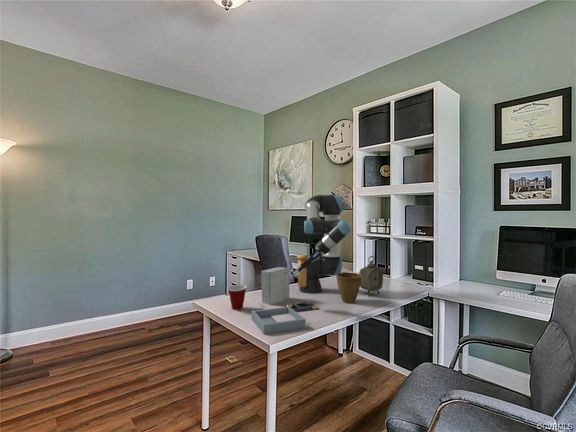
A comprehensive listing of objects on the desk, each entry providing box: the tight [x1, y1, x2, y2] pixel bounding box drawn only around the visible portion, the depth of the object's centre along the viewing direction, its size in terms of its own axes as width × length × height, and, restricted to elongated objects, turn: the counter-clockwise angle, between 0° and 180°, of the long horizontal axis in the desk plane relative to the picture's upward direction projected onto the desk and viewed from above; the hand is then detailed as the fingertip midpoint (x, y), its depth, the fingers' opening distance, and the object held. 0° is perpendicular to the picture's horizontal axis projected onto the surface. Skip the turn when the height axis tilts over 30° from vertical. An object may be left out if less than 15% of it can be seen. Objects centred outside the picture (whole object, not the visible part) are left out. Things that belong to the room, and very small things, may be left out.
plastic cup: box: [226, 284, 248, 311], centre depth 167 cm, size 11×11×12 cm
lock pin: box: [296, 254, 309, 287], centre depth 164 cm, size 6×6×16 cm
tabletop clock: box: [358, 255, 384, 297], centre depth 197 cm, size 14×9×25 cm, turn 131°
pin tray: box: [251, 306, 306, 335], centre depth 146 cm, size 20×20×4 cm
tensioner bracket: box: [284, 301, 321, 313], centre depth 165 cm, size 16×12×3 cm
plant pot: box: [335, 271, 362, 304], centre depth 182 cm, size 15×15×16 cm
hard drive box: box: [261, 266, 290, 306], centre depth 177 cm, size 16×8×20 cm, turn 135°
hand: (295, 273), depth 165 cm, fingers closed on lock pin, 4 cm apart
